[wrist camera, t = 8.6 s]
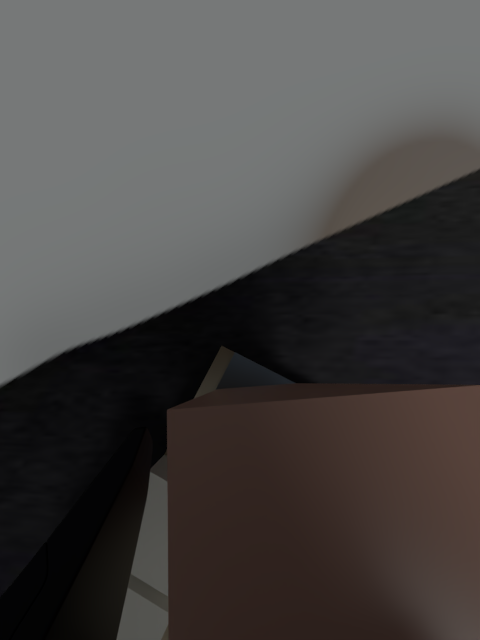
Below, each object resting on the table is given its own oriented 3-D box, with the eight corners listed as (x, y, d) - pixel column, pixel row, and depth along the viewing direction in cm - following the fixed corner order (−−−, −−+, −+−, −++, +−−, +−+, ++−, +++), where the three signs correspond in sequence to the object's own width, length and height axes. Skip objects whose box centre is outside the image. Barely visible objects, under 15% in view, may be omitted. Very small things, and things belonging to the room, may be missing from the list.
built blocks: (146, 650, 14) (122, 723, 11) (82, 609, 14) (42, 669, 11) (222, 487, 15) (219, 511, 13) (164, 454, 16) (148, 470, 13)
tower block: (304, 468, 16) (605, 829, 3) (221, 475, 15) (170, 896, 3) (294, 383, 17) (480, 384, 4) (217, 389, 17) (166, 409, 4)
